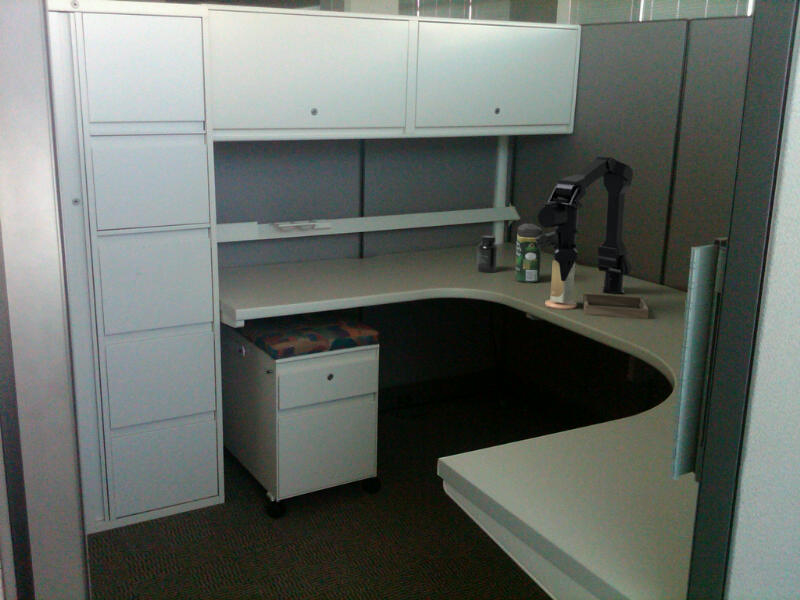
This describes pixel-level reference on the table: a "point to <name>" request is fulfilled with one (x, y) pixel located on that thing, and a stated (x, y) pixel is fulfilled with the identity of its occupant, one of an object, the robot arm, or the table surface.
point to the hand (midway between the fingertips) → (562, 278)
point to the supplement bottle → (487, 255)
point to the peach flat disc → (560, 305)
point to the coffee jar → (527, 253)
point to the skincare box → (561, 284)
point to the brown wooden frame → (615, 310)
